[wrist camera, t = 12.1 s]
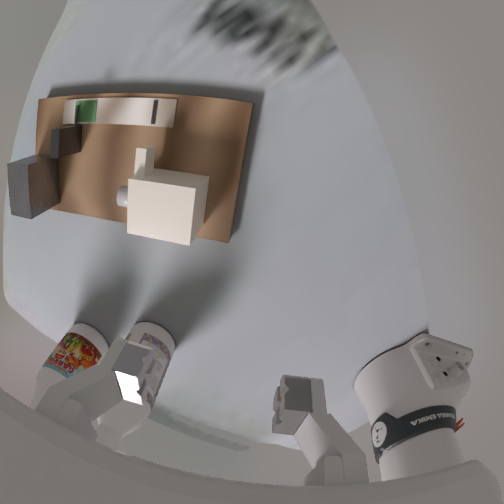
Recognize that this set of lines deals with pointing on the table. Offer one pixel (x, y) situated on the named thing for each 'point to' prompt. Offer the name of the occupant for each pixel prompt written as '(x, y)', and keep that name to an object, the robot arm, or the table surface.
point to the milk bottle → (70, 358)
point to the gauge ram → (163, 201)
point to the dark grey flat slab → (66, 139)
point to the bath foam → (132, 414)
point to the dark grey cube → (33, 185)
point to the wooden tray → (152, 134)
